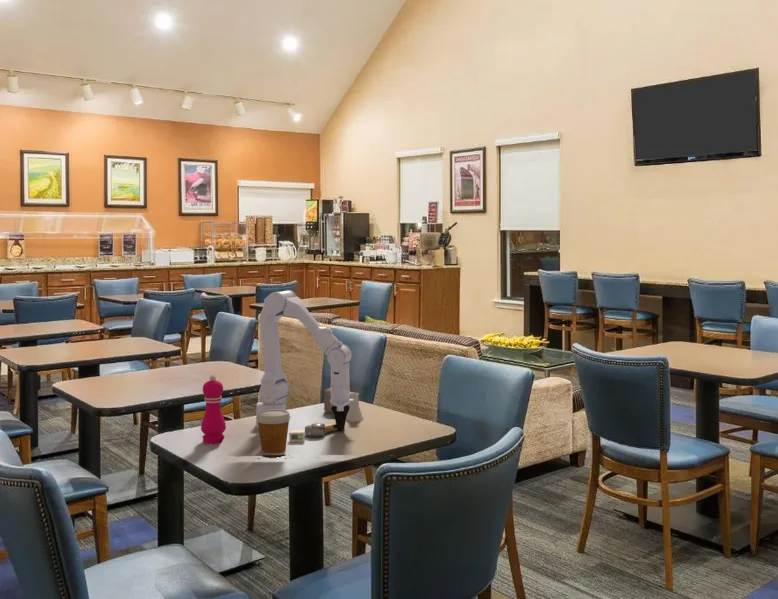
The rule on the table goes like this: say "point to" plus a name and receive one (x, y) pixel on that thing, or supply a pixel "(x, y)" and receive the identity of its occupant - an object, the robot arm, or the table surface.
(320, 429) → the wooden handled metal tool
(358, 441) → the table surface
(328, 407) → the food item
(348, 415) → the flask
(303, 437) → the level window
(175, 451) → the table surface
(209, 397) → the pepper mill
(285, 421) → the disposable coffee cup
